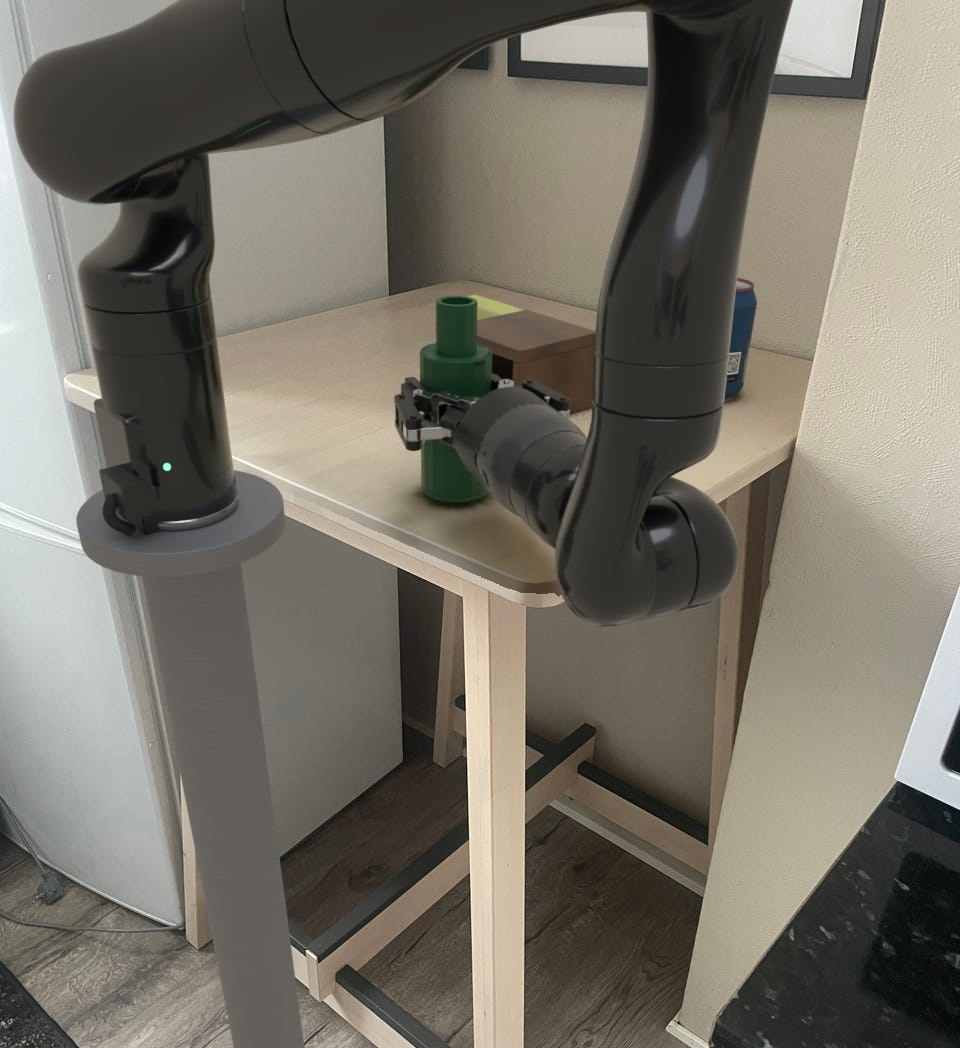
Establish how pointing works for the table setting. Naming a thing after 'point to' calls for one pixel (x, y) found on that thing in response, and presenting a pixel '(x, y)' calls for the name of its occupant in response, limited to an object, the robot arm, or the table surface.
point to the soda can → (740, 337)
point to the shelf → (542, 353)
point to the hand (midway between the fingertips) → (445, 384)
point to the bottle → (461, 372)
